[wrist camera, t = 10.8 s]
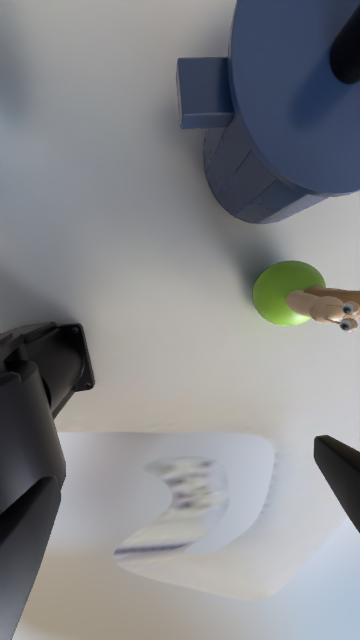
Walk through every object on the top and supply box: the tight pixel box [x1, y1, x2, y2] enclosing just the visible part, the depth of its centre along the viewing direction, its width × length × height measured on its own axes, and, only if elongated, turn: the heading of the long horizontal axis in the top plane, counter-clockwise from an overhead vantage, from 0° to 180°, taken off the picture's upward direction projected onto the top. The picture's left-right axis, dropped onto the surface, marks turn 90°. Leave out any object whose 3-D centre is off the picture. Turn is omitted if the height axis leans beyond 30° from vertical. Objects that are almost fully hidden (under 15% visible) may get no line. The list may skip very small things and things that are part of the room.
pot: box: [176, 57, 328, 224], centre depth 13 cm, size 11×16×7 cm, turn 96°
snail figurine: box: [253, 261, 360, 332], centre depth 14 cm, size 5×6×12 cm
